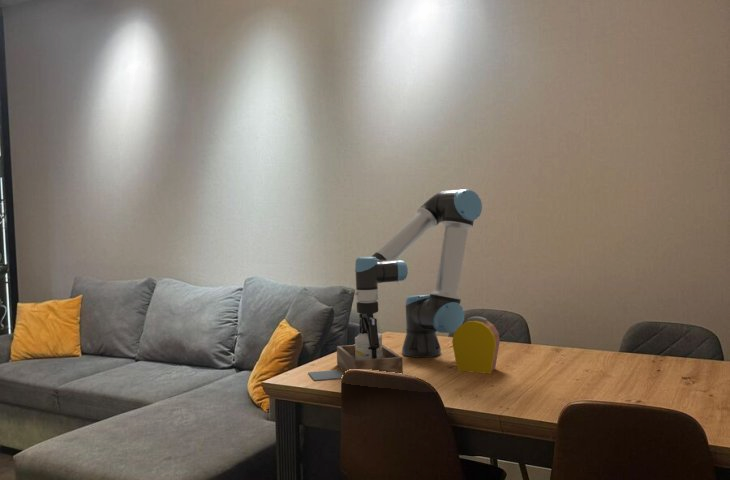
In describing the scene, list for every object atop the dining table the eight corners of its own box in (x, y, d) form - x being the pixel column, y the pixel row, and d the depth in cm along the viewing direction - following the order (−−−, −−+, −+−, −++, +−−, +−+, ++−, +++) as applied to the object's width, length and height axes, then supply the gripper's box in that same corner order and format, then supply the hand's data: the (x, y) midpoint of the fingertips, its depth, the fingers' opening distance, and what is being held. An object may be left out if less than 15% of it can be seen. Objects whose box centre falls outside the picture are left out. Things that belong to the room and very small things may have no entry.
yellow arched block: (500, 368, 226) (500, 316, 225) (495, 374, 218) (494, 320, 217) (459, 365, 232) (458, 314, 231) (452, 370, 224) (451, 318, 224)
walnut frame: (380, 361, 240) (379, 342, 240) (402, 378, 214) (402, 357, 214) (337, 365, 236) (336, 346, 235) (355, 382, 210) (354, 361, 210)
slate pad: (339, 370, 227) (339, 369, 227) (346, 378, 216) (346, 377, 216) (308, 373, 224) (308, 372, 224) (314, 381, 213) (314, 379, 213)
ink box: (379, 371, 220) (378, 337, 220) (355, 371, 222) (354, 337, 221) (383, 365, 229) (382, 332, 228) (360, 365, 230) (359, 332, 230)
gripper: (348, 297, 234) (350, 357, 235) (365, 306, 212) (367, 372, 213) (368, 296, 236) (370, 355, 237) (387, 304, 214) (389, 370, 215)
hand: (369, 363), depth 225 cm, fingers closed on ink box, 11 cm apart
